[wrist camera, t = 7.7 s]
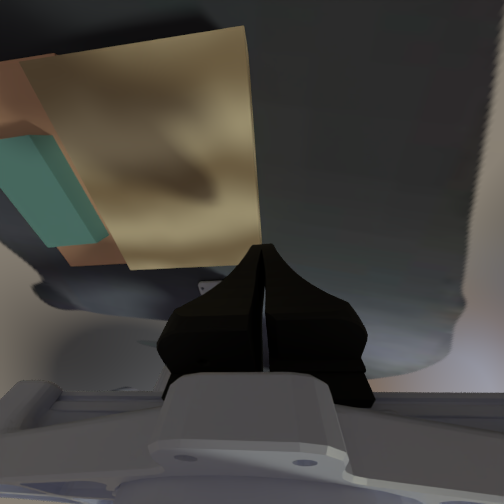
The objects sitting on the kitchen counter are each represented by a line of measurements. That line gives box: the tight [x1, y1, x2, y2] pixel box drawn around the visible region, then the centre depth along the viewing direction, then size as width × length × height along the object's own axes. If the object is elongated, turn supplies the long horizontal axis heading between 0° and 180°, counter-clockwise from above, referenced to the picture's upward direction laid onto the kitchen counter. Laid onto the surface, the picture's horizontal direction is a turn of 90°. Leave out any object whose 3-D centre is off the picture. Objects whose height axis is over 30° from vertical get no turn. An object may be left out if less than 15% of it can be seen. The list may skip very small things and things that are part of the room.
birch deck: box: [19, 26, 262, 270], centre depth 17 cm, size 16×14×4 cm
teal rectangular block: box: [0, 135, 109, 248], centre depth 19 cm, size 10×6×2 cm, turn 7°
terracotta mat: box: [0, 53, 127, 266], centre depth 19 cm, size 19×11×1 cm, turn 5°
